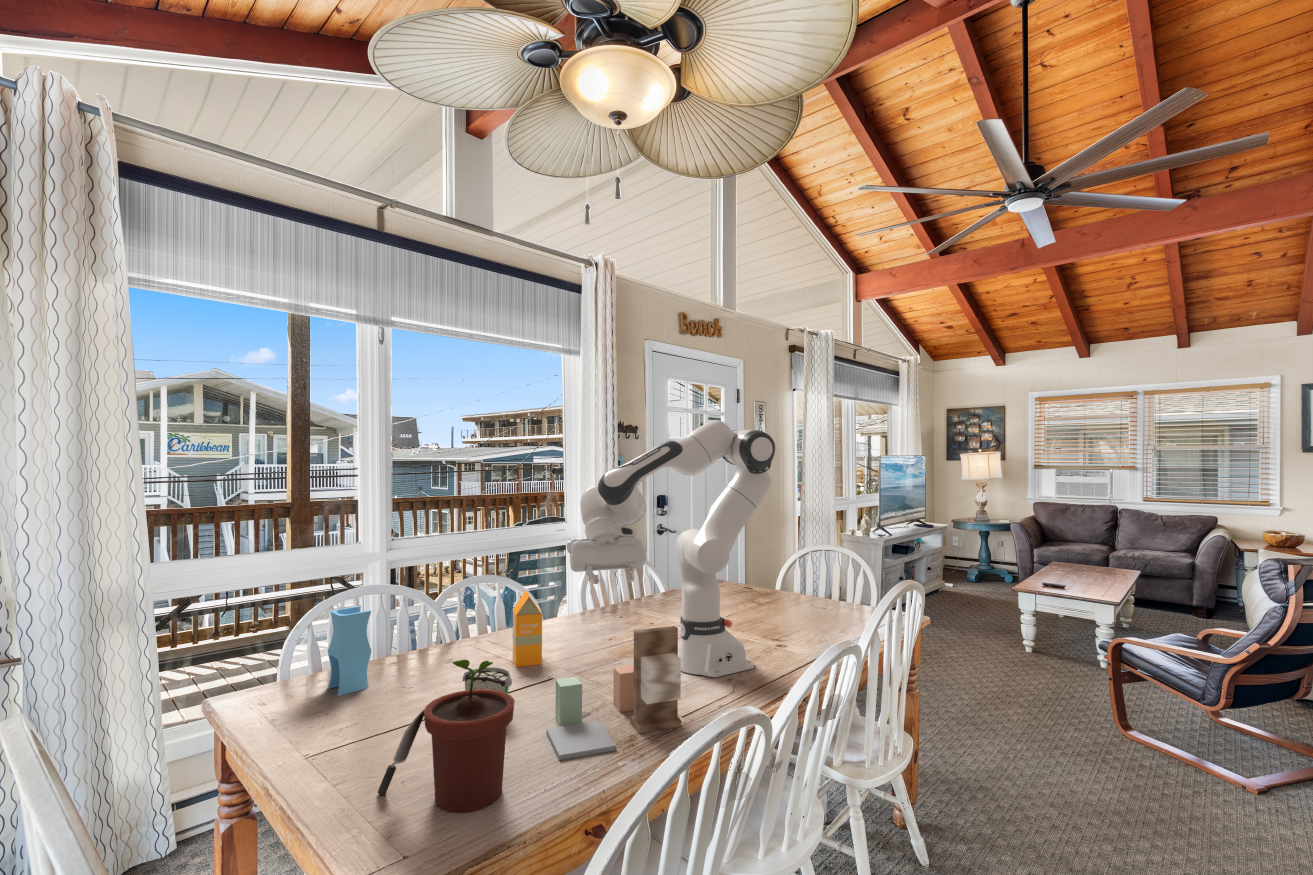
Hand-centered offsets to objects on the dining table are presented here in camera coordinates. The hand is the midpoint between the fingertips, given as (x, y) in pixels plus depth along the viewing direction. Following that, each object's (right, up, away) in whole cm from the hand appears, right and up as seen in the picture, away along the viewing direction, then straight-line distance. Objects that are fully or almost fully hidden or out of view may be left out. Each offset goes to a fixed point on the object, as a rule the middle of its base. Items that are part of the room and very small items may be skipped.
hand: (613, 581), depth 160 cm
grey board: (-5, -28, -26) cm, 39 cm away
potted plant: (-26, -28, -46) cm, 60 cm away
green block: (-9, -28, -16) cm, 34 cm away
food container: (-28, -29, -12) cm, 42 cm away
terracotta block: (+4, -29, -8) cm, 30 cm away
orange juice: (-28, -29, +25) cm, 48 cm away
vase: (-69, -29, +4) cm, 75 cm away
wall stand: (+11, -28, -18) cm, 35 cm away
